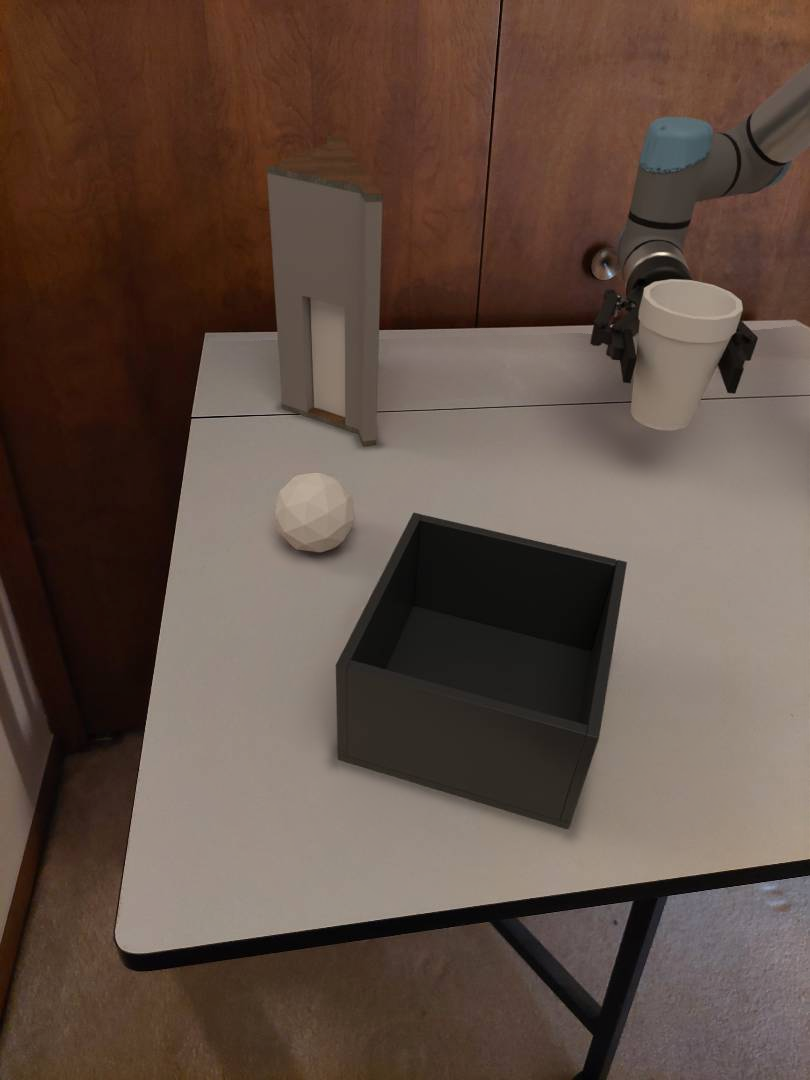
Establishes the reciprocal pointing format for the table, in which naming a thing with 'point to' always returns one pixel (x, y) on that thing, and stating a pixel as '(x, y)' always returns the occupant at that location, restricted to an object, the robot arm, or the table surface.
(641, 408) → the foam cup
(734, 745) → the table surface
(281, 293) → the cabinet
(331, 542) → the geometric ball
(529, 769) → the waste bin
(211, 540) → the table surface
